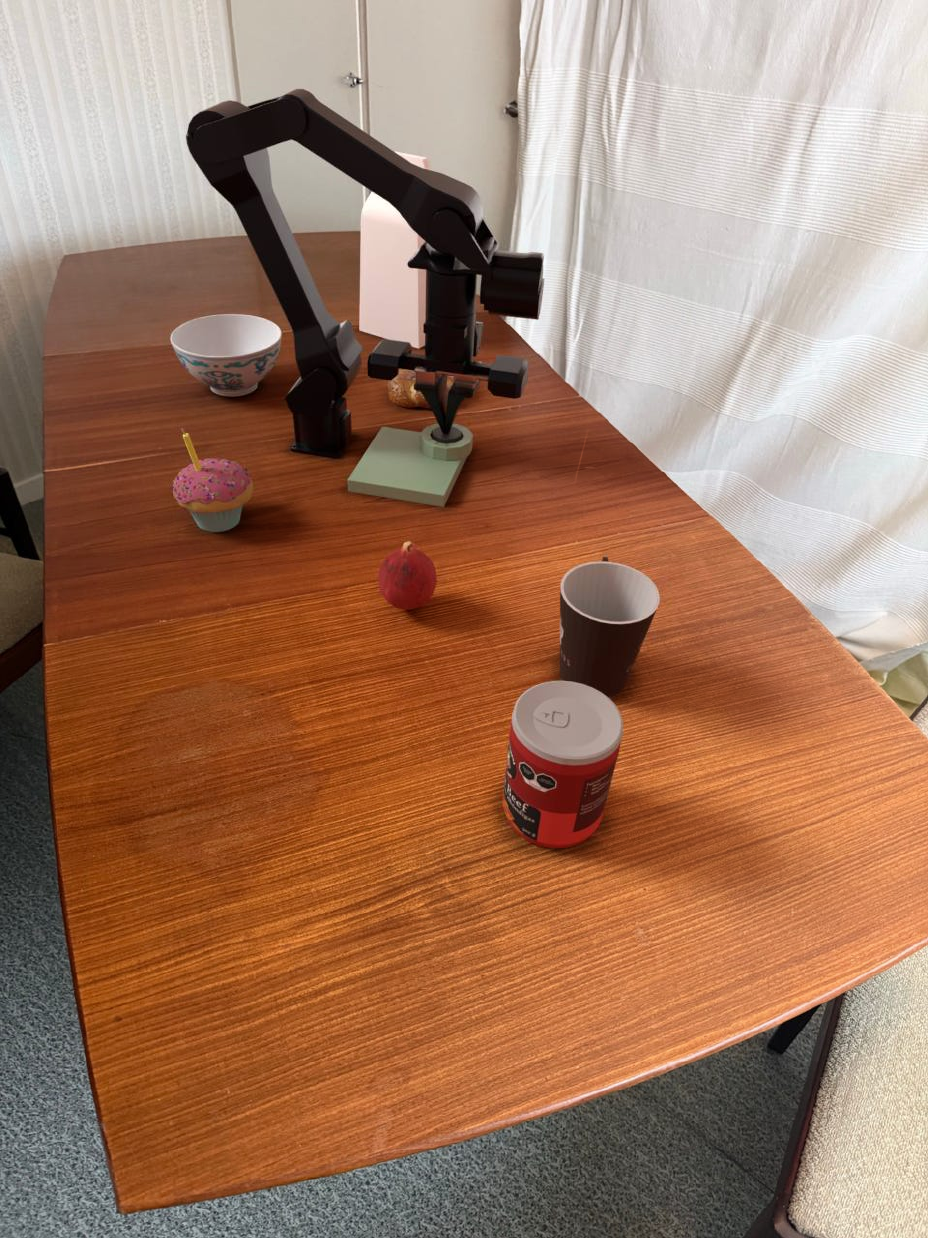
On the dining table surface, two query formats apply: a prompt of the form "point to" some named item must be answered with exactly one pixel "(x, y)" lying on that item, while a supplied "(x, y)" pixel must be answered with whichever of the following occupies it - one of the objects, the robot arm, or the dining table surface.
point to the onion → (407, 577)
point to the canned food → (560, 762)
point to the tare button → (447, 435)
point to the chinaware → (228, 351)
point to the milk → (391, 272)
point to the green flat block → (411, 465)
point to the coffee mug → (604, 623)
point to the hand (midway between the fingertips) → (446, 432)
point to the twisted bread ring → (409, 390)
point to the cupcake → (212, 490)
